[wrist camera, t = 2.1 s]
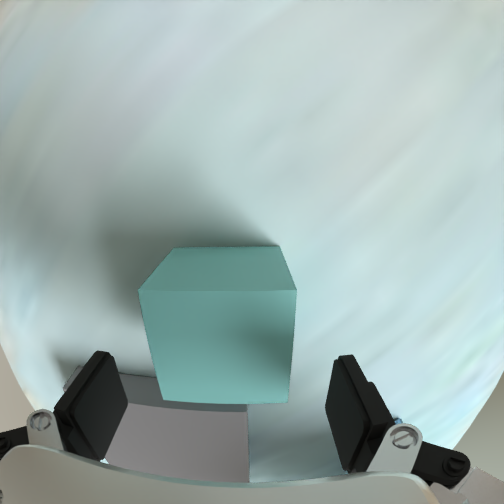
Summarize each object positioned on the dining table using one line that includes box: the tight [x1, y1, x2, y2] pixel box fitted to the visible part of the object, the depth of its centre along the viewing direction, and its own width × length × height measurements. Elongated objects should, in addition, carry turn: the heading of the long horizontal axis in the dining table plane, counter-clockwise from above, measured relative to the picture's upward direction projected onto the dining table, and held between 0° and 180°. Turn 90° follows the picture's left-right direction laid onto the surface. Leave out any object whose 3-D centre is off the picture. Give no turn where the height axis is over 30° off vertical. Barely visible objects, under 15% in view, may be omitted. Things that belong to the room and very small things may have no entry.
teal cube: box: [138, 246, 297, 404], centre depth 14 cm, size 6×6×6 cm
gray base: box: [63, 366, 249, 483], centre depth 19 cm, size 14×14×3 cm
